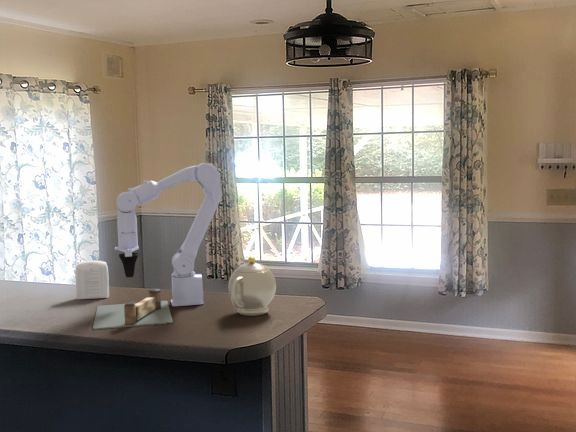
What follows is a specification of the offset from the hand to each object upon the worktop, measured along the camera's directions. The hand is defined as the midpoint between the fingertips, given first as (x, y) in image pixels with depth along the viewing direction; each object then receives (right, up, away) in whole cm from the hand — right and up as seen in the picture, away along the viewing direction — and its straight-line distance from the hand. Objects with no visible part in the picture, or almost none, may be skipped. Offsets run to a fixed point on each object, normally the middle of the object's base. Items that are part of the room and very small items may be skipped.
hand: (129, 276), depth 196 cm
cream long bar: (+7, -9, -12) cm, 17 cm away
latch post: (+5, -11, -20) cm, 23 cm away
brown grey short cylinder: (+8, -10, -3) cm, 13 cm away
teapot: (+37, -10, -11) cm, 40 cm away
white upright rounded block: (-16, -9, +16) cm, 24 cm away
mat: (+3, -10, -8) cm, 13 cm away
